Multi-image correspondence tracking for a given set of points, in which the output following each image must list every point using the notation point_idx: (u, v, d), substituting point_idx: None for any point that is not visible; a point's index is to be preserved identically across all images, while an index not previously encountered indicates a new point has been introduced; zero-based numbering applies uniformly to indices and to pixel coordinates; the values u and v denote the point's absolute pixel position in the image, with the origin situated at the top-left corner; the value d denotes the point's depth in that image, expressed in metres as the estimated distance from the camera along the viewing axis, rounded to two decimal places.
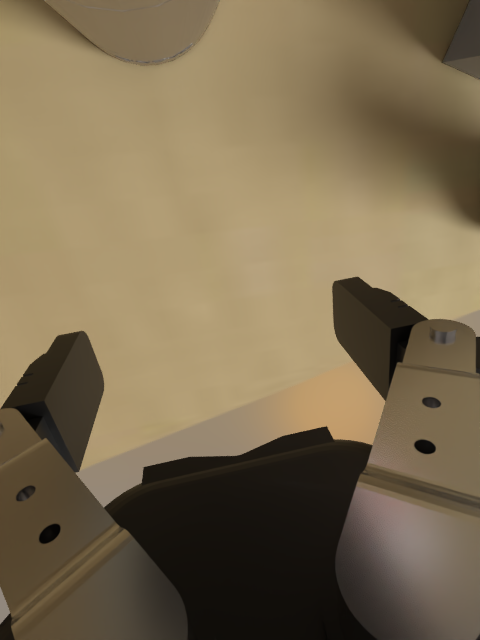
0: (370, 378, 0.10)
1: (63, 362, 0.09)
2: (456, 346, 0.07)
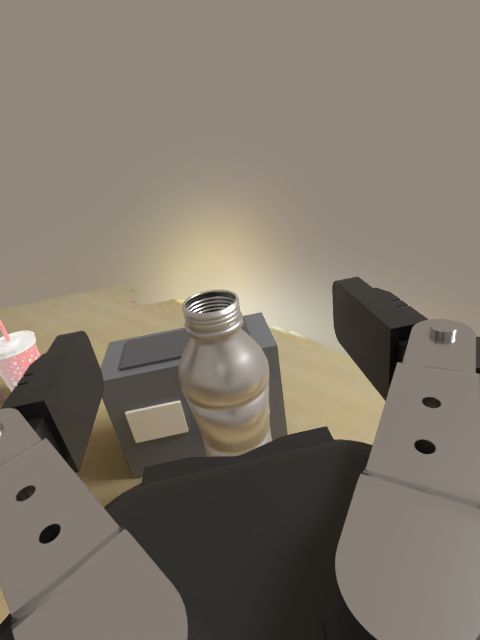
0: (370, 378, 0.10)
1: (63, 362, 0.09)
2: (456, 346, 0.07)
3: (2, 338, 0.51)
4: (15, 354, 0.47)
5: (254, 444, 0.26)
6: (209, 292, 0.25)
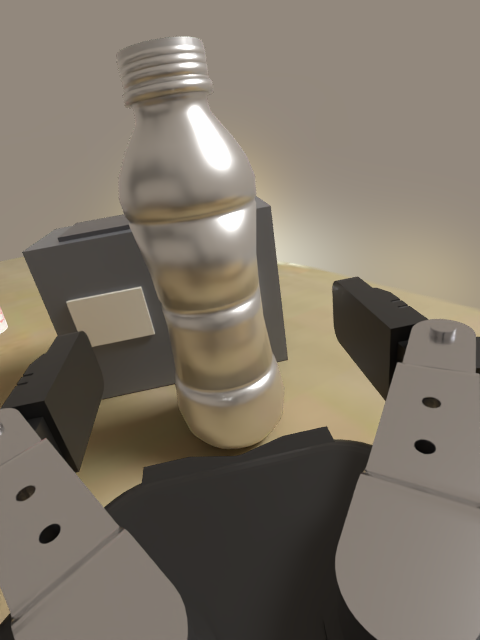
0: (369, 378, 0.10)
1: (63, 362, 0.09)
2: (456, 346, 0.07)
3: None
4: None
5: (234, 299, 0.18)
6: None
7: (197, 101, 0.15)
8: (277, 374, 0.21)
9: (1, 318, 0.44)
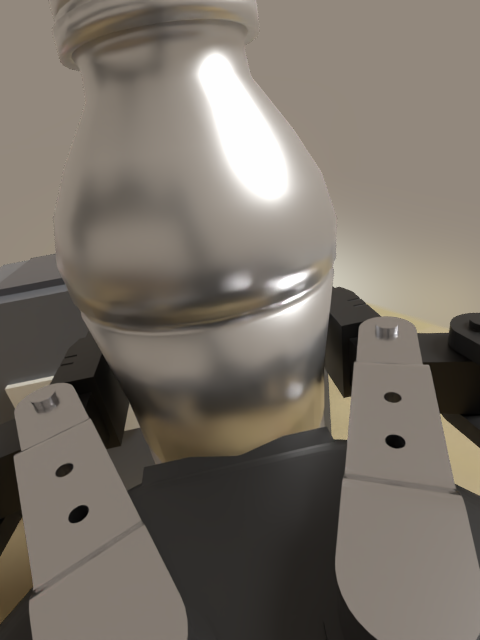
0: (330, 374, 0.11)
1: None
2: (396, 342, 0.08)
3: None
4: None
5: None
6: None
7: (225, 48, 0.06)
8: None
9: None
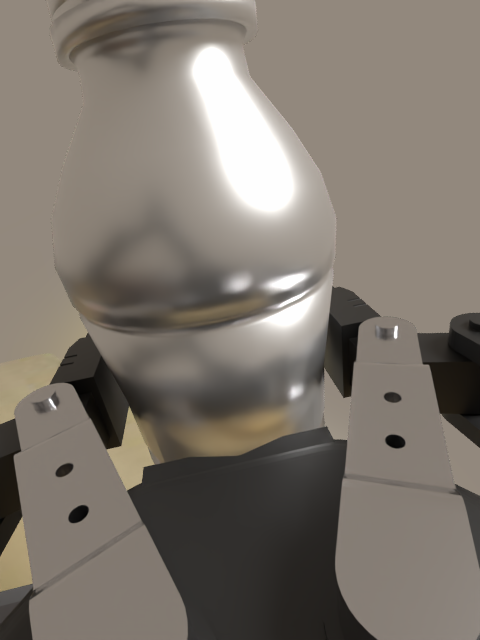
0: (330, 373, 0.11)
1: None
2: (396, 342, 0.08)
3: None
4: None
5: None
6: None
7: (224, 47, 0.06)
8: None
9: None
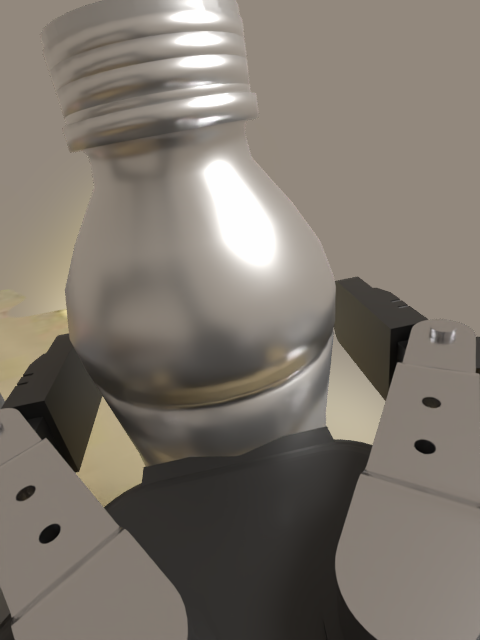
0: (370, 378, 0.10)
1: (63, 362, 0.09)
2: (456, 346, 0.07)
3: None
4: None
5: None
6: None
7: (227, 143, 0.07)
8: None
9: None
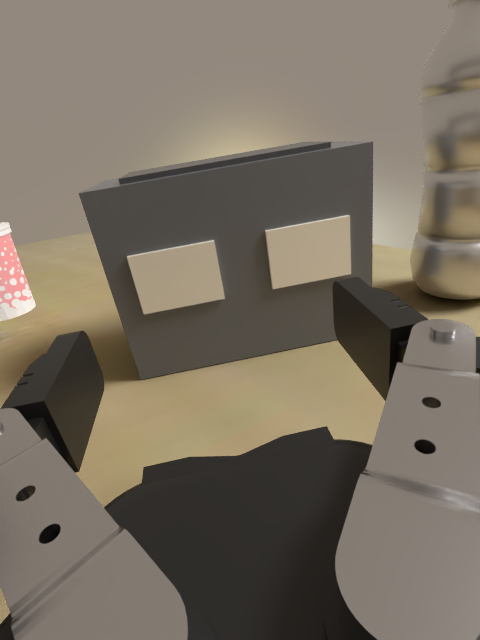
0: (370, 378, 0.10)
1: (63, 362, 0.09)
2: (456, 346, 0.07)
3: None
4: None
5: None
6: None
7: None
8: None
9: (29, 295, 0.40)
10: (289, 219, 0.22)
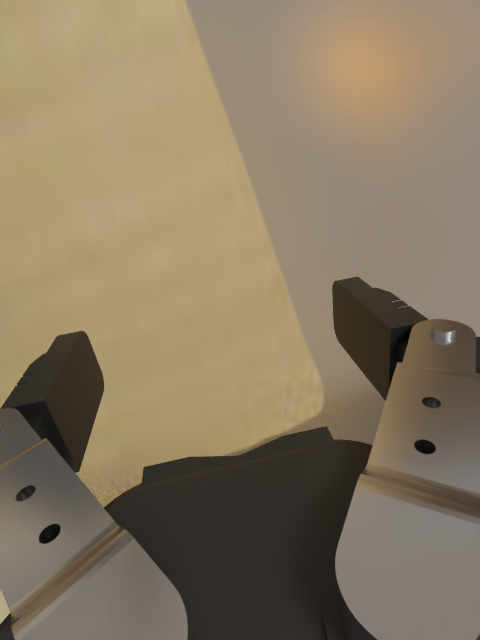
0: (369, 378, 0.10)
1: (63, 362, 0.09)
2: (456, 346, 0.07)
3: None
4: None
5: None
6: None
7: None
8: None
9: None
10: None
